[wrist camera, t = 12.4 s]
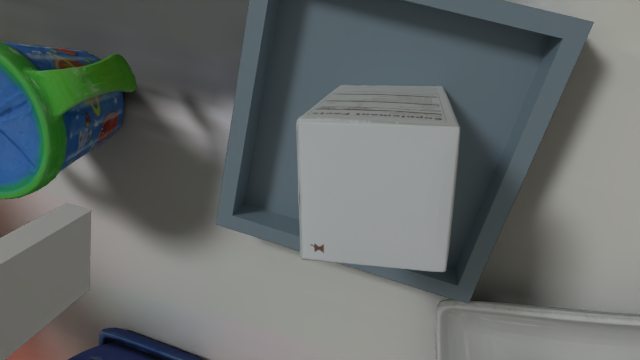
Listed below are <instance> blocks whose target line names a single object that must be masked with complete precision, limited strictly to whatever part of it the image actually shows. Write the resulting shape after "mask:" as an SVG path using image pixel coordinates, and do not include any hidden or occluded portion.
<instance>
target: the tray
mask: <svg viewBox="0 0 640 360" xmlns="http://www.w3.org/2000/svg"><path fill="white" fill-rule="evenodd" d="M593 23H594V22H592V21H587V20H583V19H579V18H575V17H571V16H566V15H562V14H558V13H554V12H549V11H545V10H541V9H537V8H533V7H528V6H524V5H520V4H516V3H511V2H507V1H503V0H250V1H249V8H248V14H247V21H246V28H245V34H244V41H243V47H242V54H241V61H240V67H239V74H238V81H237V87H236V94H235V100H234V107H233V114H232V120H231V127H230V134H229V140H228V147H227V153H226V160H225V167H224V173H223V180H222V186H221V193H220V200H219V206H218V213H217V220H216V225H219V226H222V227H226V228H229V229H232V230H235V231H238V232H241V233H245V234H248V235H251V236H254V237H257V238H260V239H264V240H267V241H270V242H273V243H276V244H279V245H283V246H286V247H289V248H292V249H295V250H298V251H300V223H299V203H298V161H297V131H296V123H297V119H298V118H299V117H300V116H302V115H304V114H305V113H306V112H307V111H309V110H310V109H311V108H312V107H314V106H315V105H316V104H317V103H319V102H320V101H321V100H322V99H324V98H325V97H326V96H327V95H329V94H330V93H331V92H332V91H333V90H335V89H336V88H338V87H339V86H340V85H387V86H443V88H444V90H445V92H446V94H447V97H448V99H449V101H450V104H451V106H452V109H453V112H454V114H455V117H456V119H457V122H458V124H459V126H460V141H459V155H458V166H457V176H456V187H455V197H454V208H453V218H452V227H451V236H450V245H449V254H448V261H447V267H446V271H445V272H431V271H420V270H410V269H400V268H389V267H379V266H368V265H358V264H348V263H340V264H343V265H346V266H349V267H352V268H356V269H359V270H362V271H365V272H368V273H371V274H375V275H378V276H381V277H384V278H387V279H390V280H394V281H397V282H400V283H403V284H406V285H409V286H413V287H416V288H419V289H422V290H425V291H429V292H432V293H435V294H438V295H441V296H444V297H448V298H451V299H454V300H457V301H460V302H463V303H467V304H469V301H470V299H471V297H472V295H473V292H474V290H475V288H476V286H477V283H478V281H479V279H480V277H481V274H482V272H483V270H484V268H485V265H486V263H487V261H488V259H489V257H490V254H491V252H492V250H493V248H494V245H495V243H496V241H497V239H498V236H499V234H500V232H501V230H502V227H503V225H504V223H505V221H506V218H507V216H508V214H509V212H510V209H511V207H512V205H513V203H514V200H515V198H516V196H517V194H518V191H519V189H520V187H521V185H522V182H523V180H524V178H525V176H526V173H527V171H528V169H529V167H530V164H531V162H532V160H533V158H534V155H535V153H536V151H537V149H538V147H539V144H540V142H541V140H542V138H543V135H544V133H545V131H546V129H547V126H548V124H549V122H550V120H551V117H552V115H553V113H554V111H555V108H556V106H557V104H558V102H559V99H560V97H561V95H562V93H563V90H564V88H565V86H566V84H567V81H568V79H569V77H570V75H571V72H572V70H573V68H574V66H575V63H576V61H577V59H578V57H579V54H580V52H581V50H582V48H583V46H584V43H585V41H586V39H587V37H588V34H589V32H590V30H591V28H592V25H593ZM337 263H338V262H337Z"/></svg>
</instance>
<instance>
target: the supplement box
mask: <svg viewBox="0 0 640 360" xmlns="http://www.w3.org/2000/svg"><path fill="white" fill-rule="evenodd" d="M296 131H297V161H298V203H299V223H300V258H301V259H304V260H317V261H328V262H338V263H348V264H358V265H368V266H379V267H389V268H400V269H410V270H420V271H431V272H445V271H446V267H447V261H448V254H449V245H450V236H451V227H452V218H453V208H454V197H455V187H456V176H457V166H458V155H459V141H460V126H459V124H458V122H457V119H456V117H455V114H454V112H453V109H452V106H451V104H450V101H449V99H448V97H447V94H446V92H445V90H444V88H443V86H387V85H340V86H339V87H338V88H336V89H335V90H333V91H332V92H331V93H330V94H329V95H327V96H326V97H325V98H324V99H322V100H321V101H320V102H319V103H317V104H316V105H315V106H314V107H312V108H311V109H310V110H309V111H307V112H306V113H305V114H304V115H302V116H300V117H299V118H298V119H297V123H296Z"/></svg>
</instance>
